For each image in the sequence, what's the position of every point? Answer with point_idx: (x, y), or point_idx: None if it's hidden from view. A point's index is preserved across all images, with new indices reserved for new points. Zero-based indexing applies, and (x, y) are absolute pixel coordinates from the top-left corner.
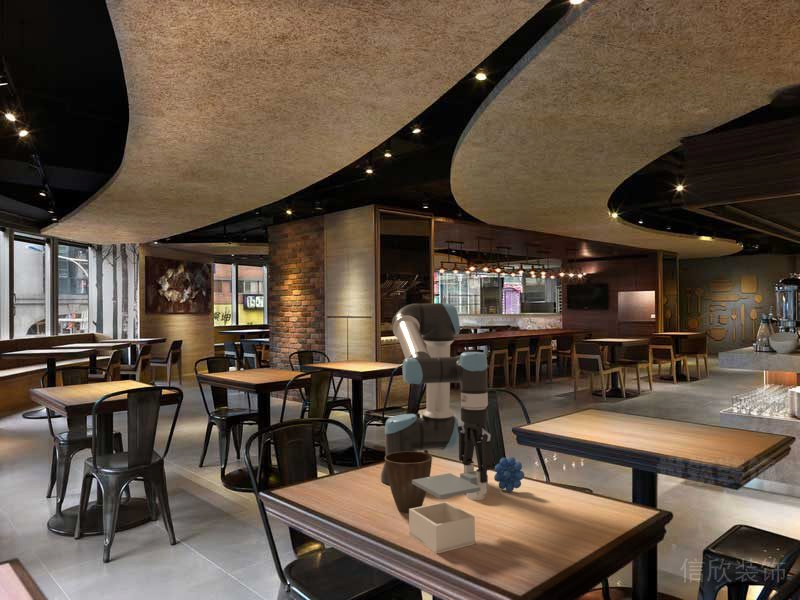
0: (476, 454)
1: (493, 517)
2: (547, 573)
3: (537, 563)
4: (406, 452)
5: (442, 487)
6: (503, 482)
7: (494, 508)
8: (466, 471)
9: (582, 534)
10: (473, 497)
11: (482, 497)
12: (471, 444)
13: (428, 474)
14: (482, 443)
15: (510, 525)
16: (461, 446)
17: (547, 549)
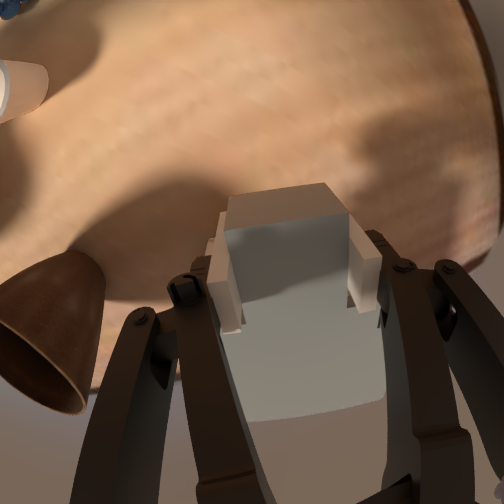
0: (391, 399)
1: (187, 78)
2: (492, 166)
3: (468, 153)
4: None
5: (334, 390)
6: (10, 6)
7: (118, 51)
8: (241, 306)
9: None
10: (41, 98)
11: (44, 70)
12: (258, 463)
13: (52, 307)
14: (495, 455)
15: (270, 59)
16: (162, 442)
17: (437, 84)
